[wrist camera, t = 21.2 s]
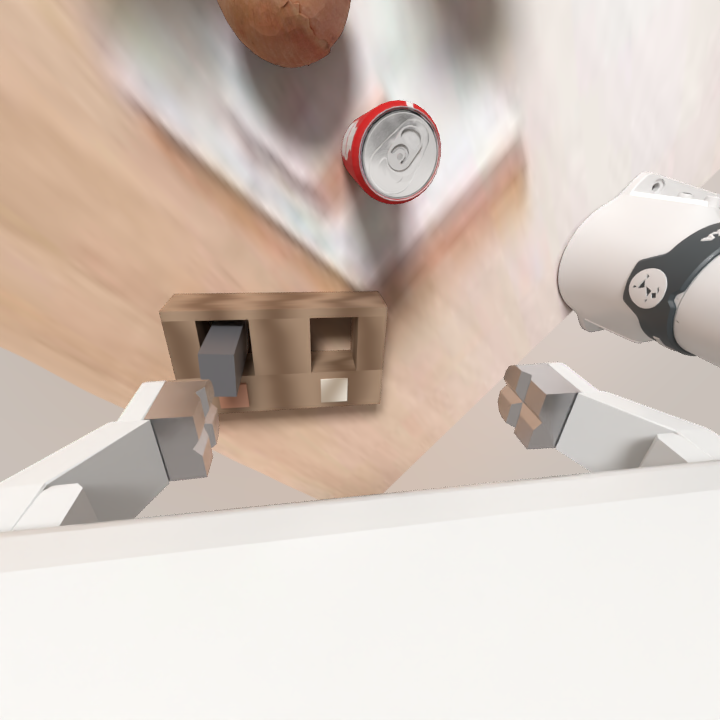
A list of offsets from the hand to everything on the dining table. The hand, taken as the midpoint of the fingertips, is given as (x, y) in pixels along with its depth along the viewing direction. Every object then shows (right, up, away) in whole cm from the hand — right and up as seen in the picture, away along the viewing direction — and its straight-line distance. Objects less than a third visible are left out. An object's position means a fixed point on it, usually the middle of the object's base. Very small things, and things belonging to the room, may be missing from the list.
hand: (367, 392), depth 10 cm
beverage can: (0, +21, +25) cm, 32 cm away
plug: (-15, +4, +31) cm, 35 cm away
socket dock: (-9, +4, +32) cm, 34 cm away
